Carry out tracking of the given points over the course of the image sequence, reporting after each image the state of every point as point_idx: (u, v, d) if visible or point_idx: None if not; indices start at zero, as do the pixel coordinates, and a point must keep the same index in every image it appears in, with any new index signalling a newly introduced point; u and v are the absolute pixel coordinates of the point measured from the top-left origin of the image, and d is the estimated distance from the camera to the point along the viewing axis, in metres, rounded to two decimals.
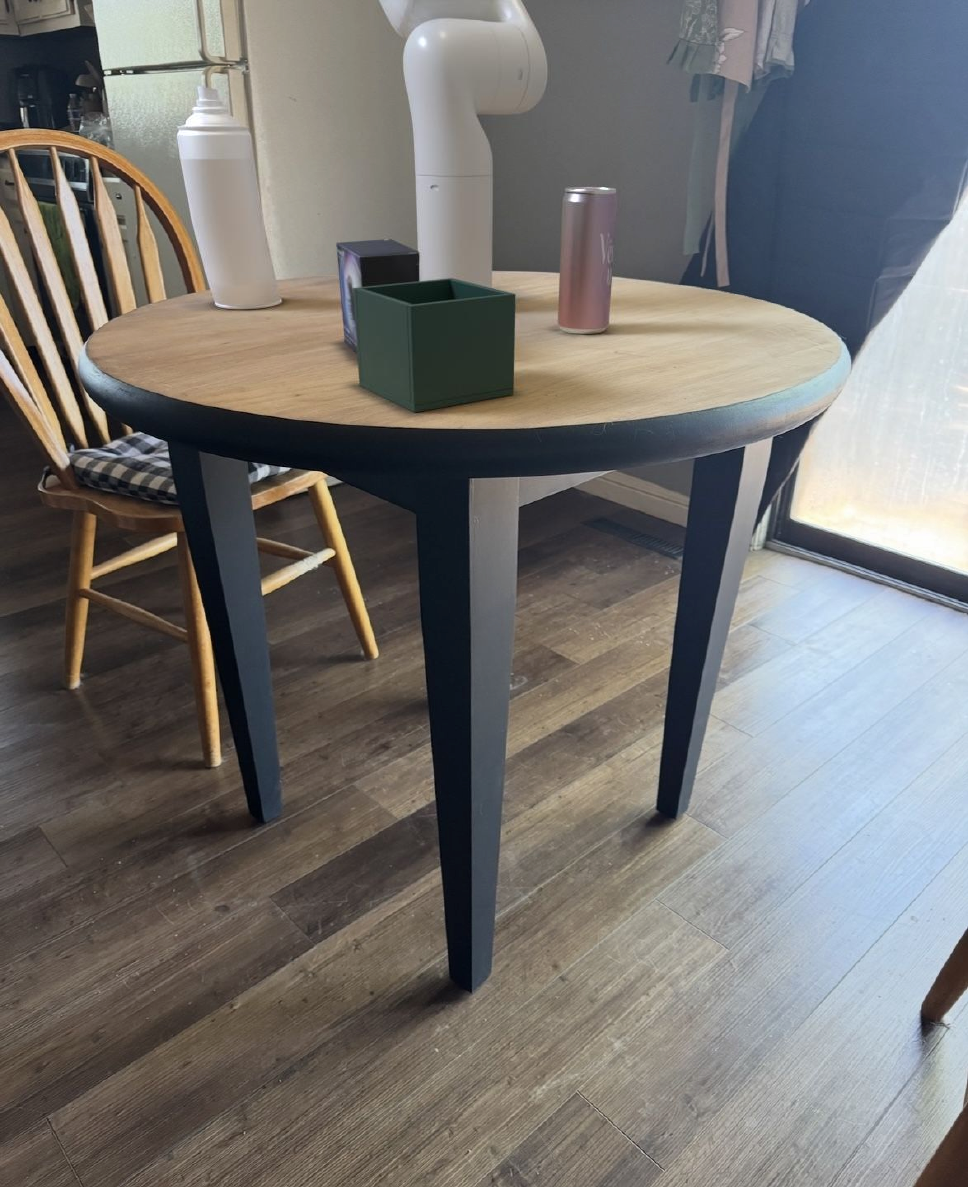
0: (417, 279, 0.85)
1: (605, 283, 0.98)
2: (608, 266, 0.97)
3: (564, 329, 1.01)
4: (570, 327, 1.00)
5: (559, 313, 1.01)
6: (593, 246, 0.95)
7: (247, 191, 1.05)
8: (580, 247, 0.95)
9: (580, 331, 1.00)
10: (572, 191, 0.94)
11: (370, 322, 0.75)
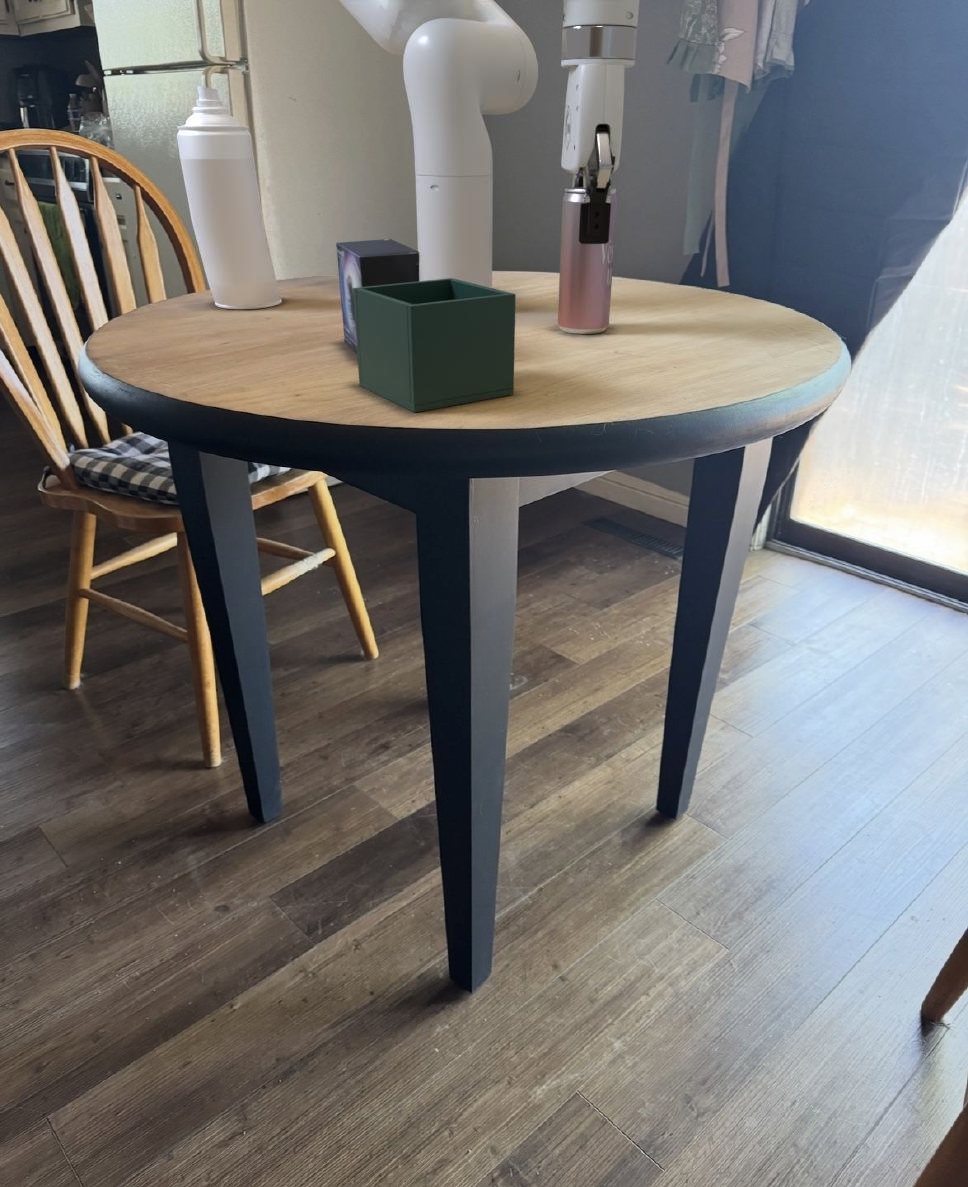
0: (417, 279, 0.85)
1: (605, 283, 0.98)
2: (608, 266, 0.97)
3: (564, 329, 1.01)
4: (570, 327, 1.00)
5: (559, 313, 1.01)
6: (593, 246, 0.95)
7: (247, 191, 1.05)
8: (580, 247, 0.95)
9: (580, 331, 1.00)
10: (572, 191, 0.94)
11: (370, 322, 0.75)
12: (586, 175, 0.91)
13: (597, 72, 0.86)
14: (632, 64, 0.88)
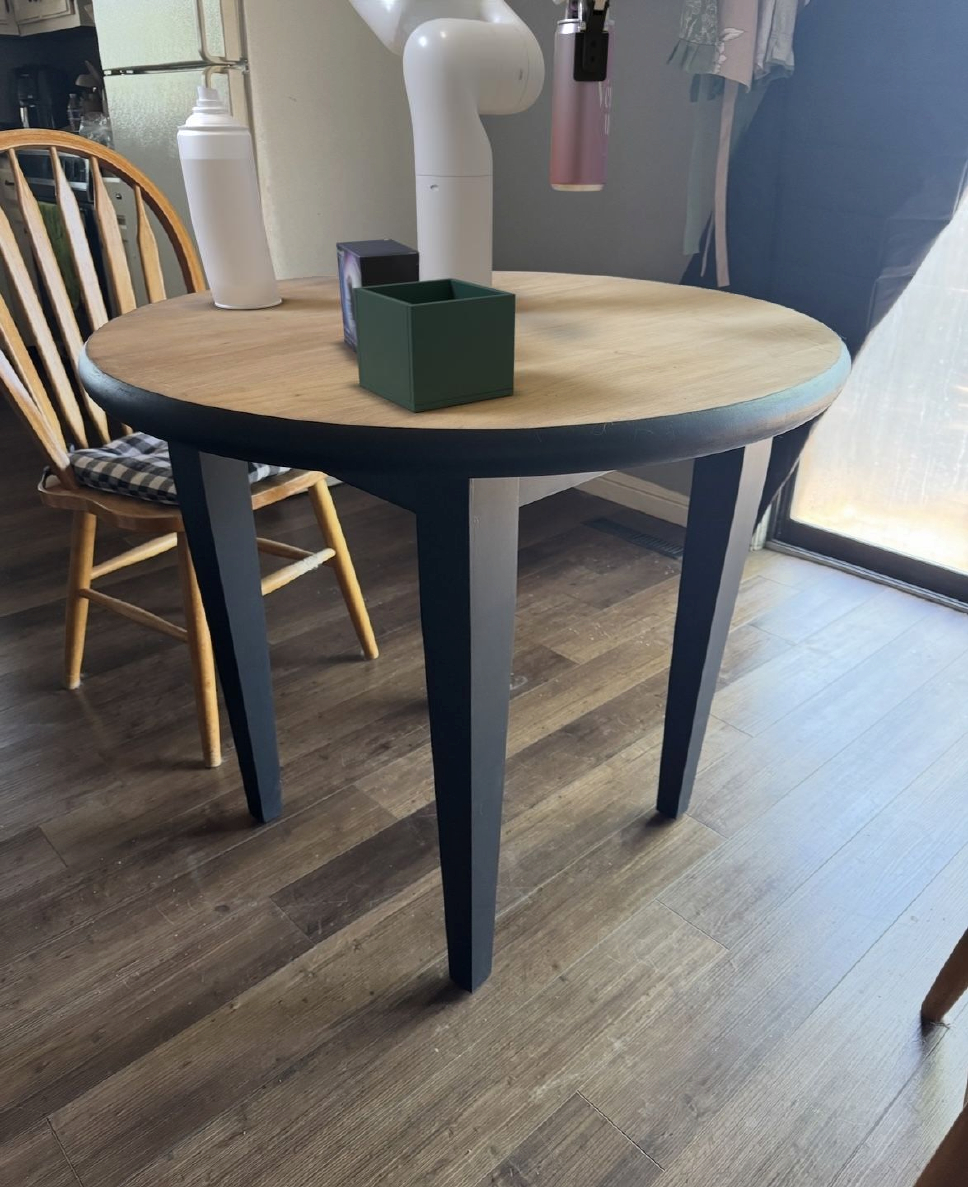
0: (417, 279, 0.85)
1: (602, 132, 0.88)
2: (606, 110, 0.88)
3: (557, 187, 0.91)
4: (564, 183, 0.90)
5: (551, 169, 0.91)
6: (590, 85, 0.86)
7: (247, 191, 1.05)
8: (575, 87, 0.86)
9: (575, 187, 0.90)
10: (566, 21, 0.84)
11: (370, 322, 0.75)
12: None
13: None
14: None
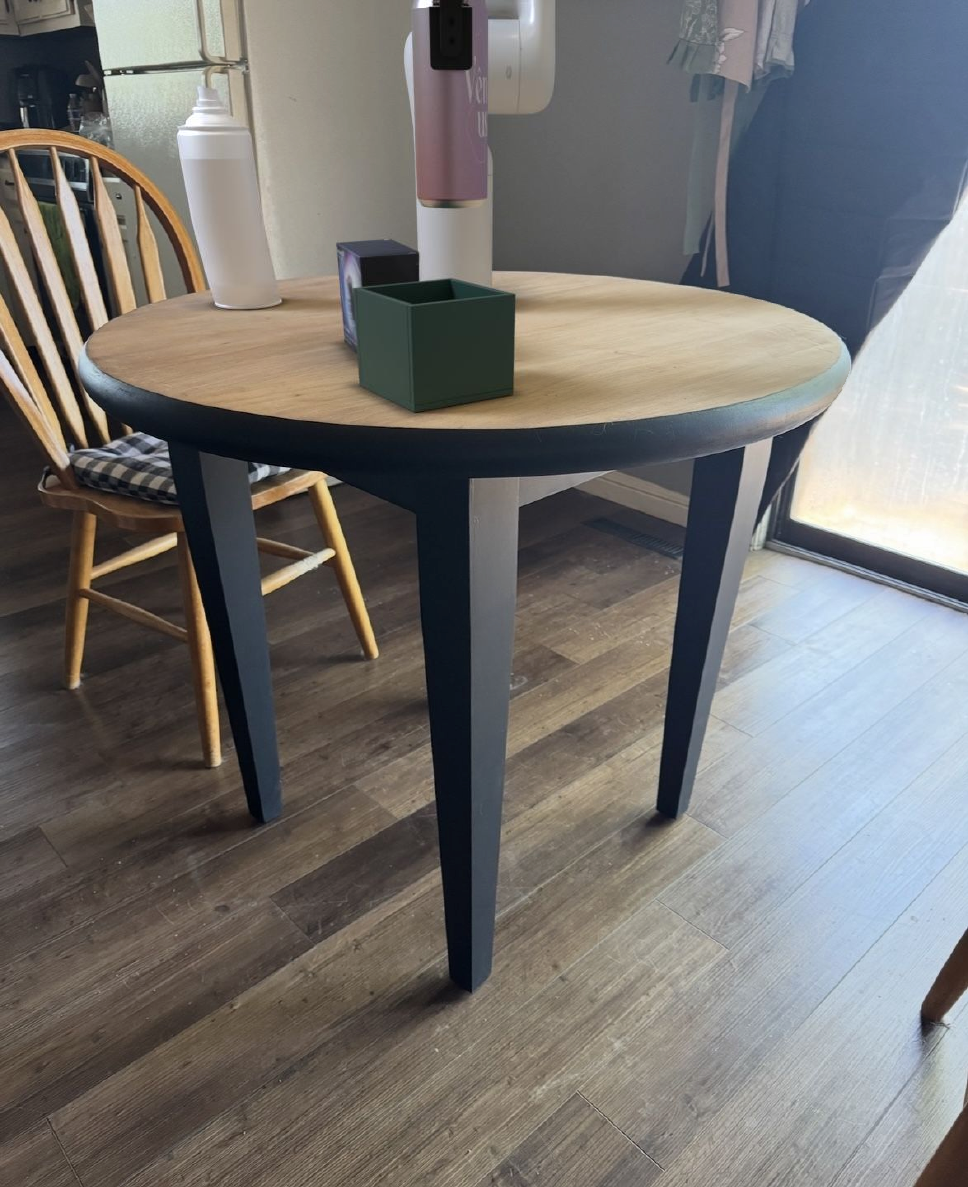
0: (417, 279, 0.85)
1: (475, 133, 0.70)
2: (478, 107, 0.69)
3: (424, 203, 0.73)
4: (430, 199, 0.72)
5: (417, 181, 0.73)
6: (454, 74, 0.67)
7: (247, 191, 1.05)
8: (435, 76, 0.67)
9: (444, 204, 0.72)
10: None
11: (370, 322, 0.75)
12: None
13: None
14: None
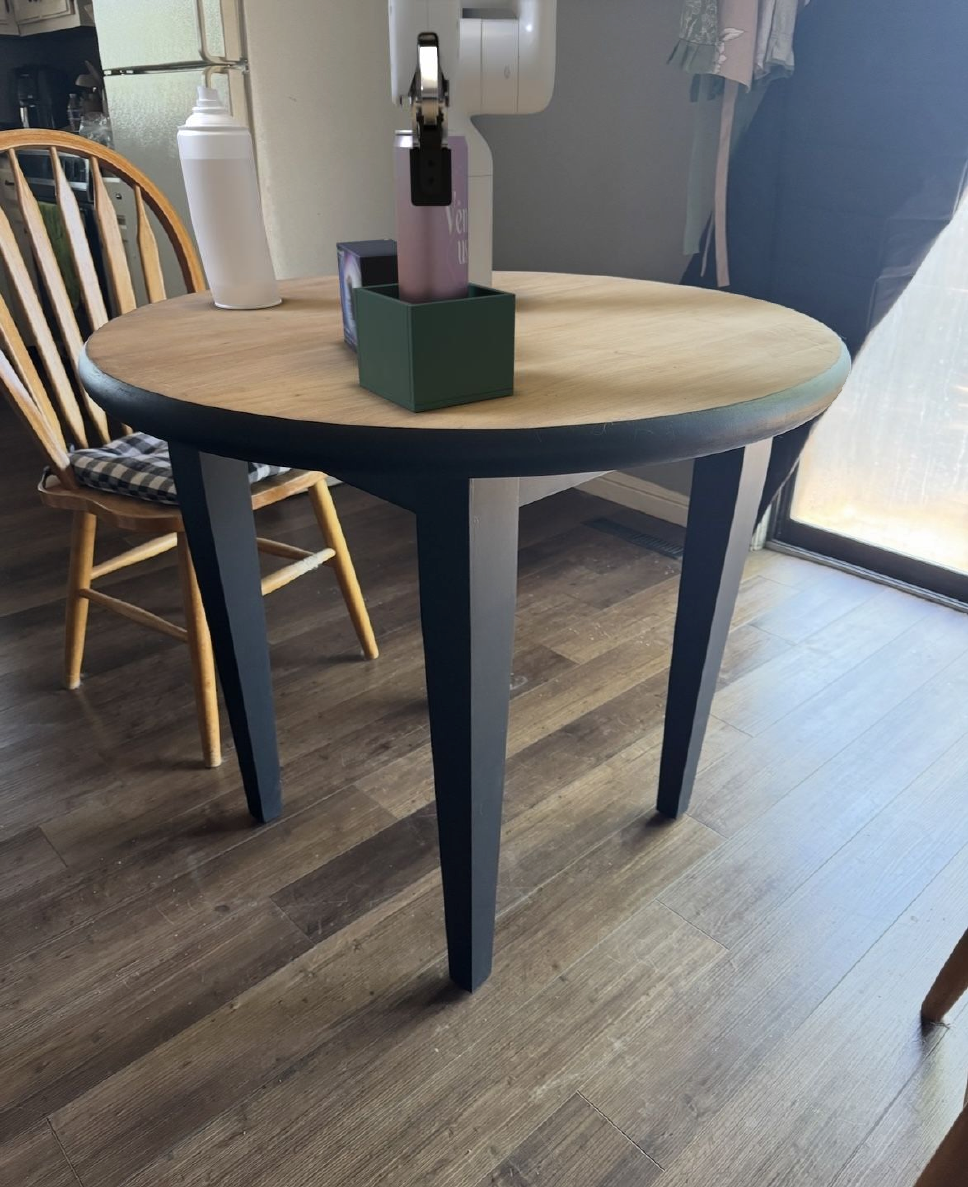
0: None
1: (455, 262, 0.72)
2: (458, 237, 0.71)
3: None
4: None
5: None
6: (434, 208, 0.69)
7: (247, 191, 1.05)
8: (416, 210, 0.69)
9: None
10: (401, 132, 0.68)
11: (370, 322, 0.75)
12: (412, 108, 0.65)
13: None
14: None
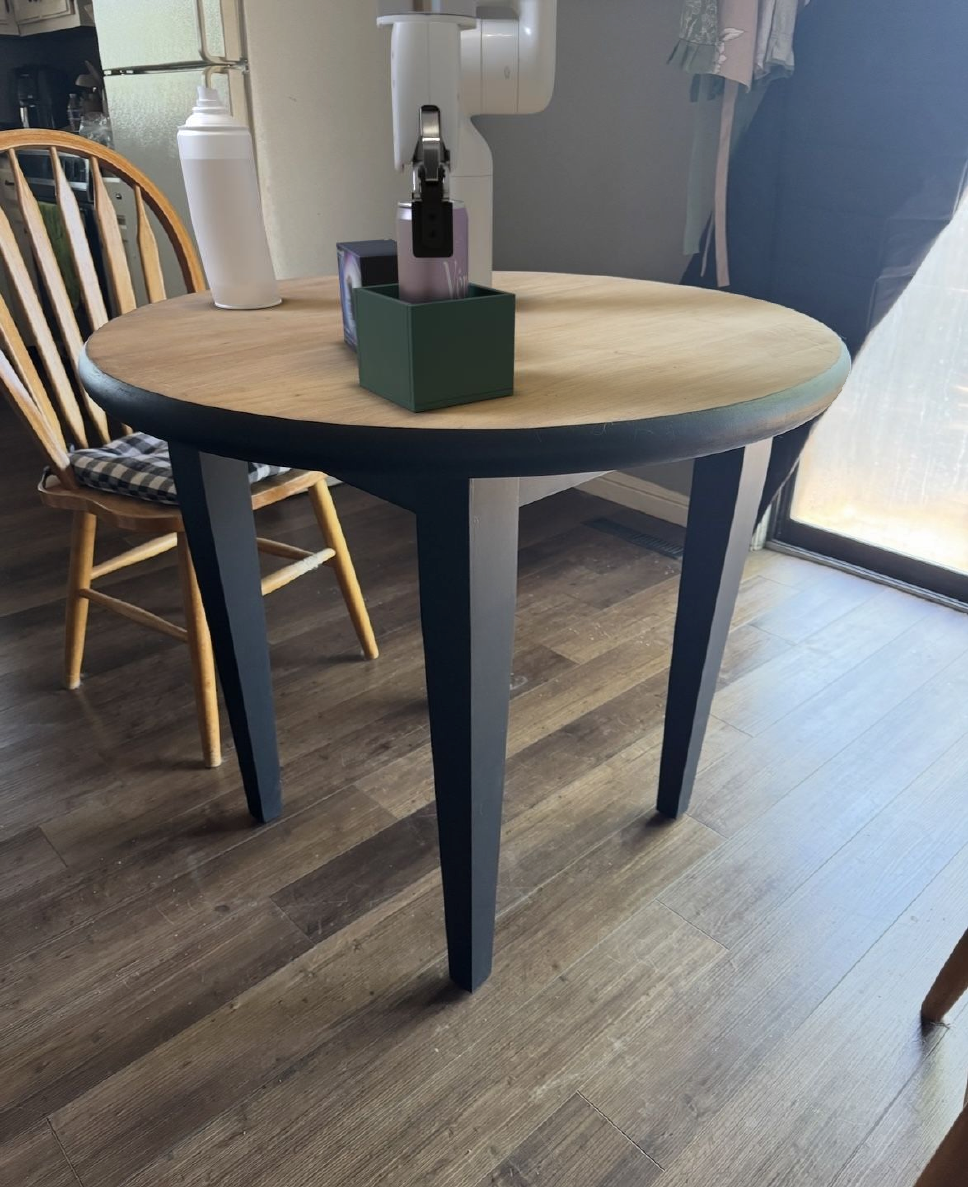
0: None
1: None
2: None
3: None
4: None
5: None
6: (436, 277, 0.72)
7: (247, 191, 1.05)
8: (418, 279, 0.72)
9: None
10: (404, 205, 0.70)
11: (370, 322, 0.75)
12: (414, 165, 0.66)
13: (416, 33, 0.62)
14: (470, 23, 0.64)
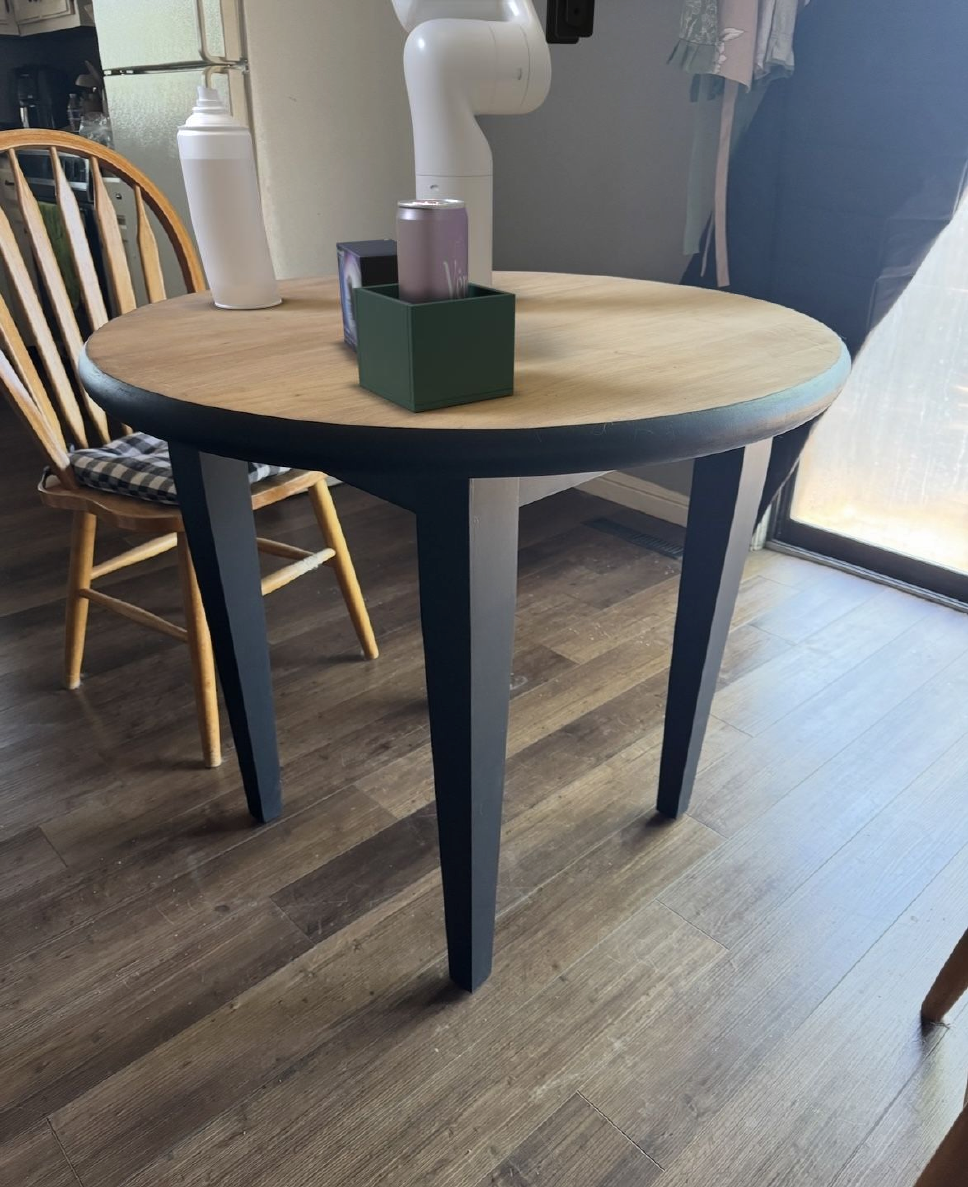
0: None
1: None
2: None
3: None
4: None
5: None
6: (436, 277, 0.72)
7: (247, 191, 1.05)
8: (418, 279, 0.72)
9: None
10: (404, 205, 0.70)
11: (370, 322, 0.75)
12: None
13: None
14: None
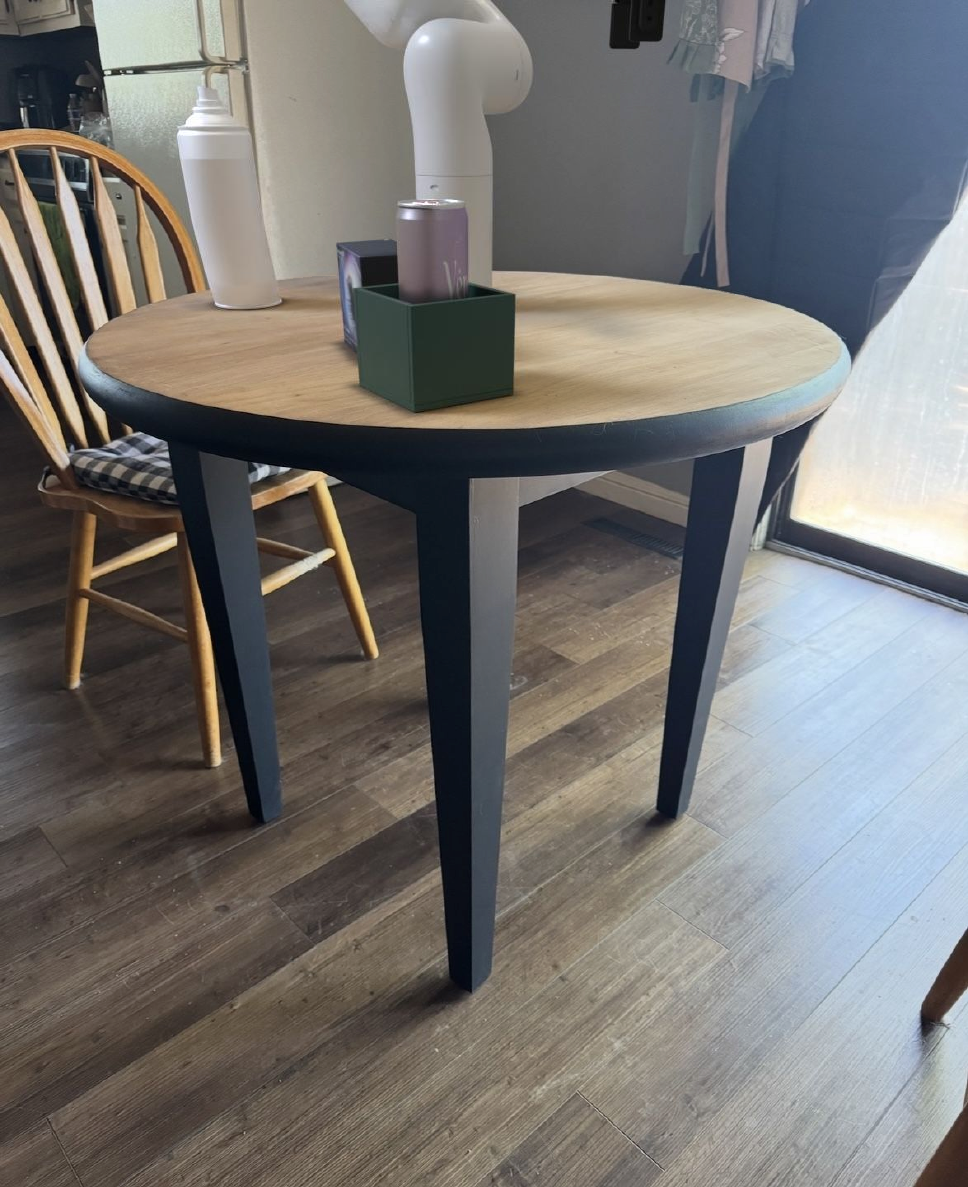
0: None
1: None
2: None
3: None
4: None
5: None
6: (436, 277, 0.72)
7: (247, 191, 1.05)
8: (418, 279, 0.72)
9: None
10: (404, 205, 0.70)
11: (370, 322, 0.75)
12: None
13: None
14: None
